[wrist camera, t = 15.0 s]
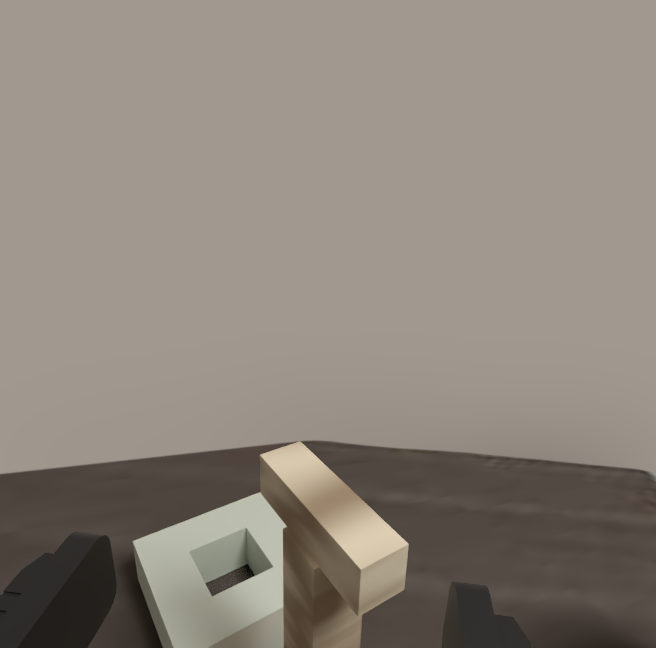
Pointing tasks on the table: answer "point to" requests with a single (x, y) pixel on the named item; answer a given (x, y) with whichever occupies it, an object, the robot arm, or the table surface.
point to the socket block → (210, 563)
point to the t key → (328, 551)
